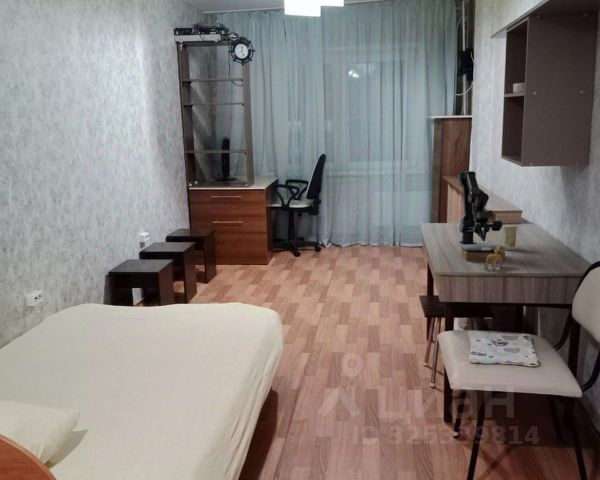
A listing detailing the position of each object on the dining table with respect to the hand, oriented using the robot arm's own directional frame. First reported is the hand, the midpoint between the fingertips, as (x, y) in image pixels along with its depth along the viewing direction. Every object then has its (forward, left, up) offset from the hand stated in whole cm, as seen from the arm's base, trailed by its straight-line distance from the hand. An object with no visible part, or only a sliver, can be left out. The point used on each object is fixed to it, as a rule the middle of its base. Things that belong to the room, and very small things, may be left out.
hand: (484, 240), depth 273 cm
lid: (-2, 0, -4) cm, 4 cm away
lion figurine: (+15, -3, -9) cm, 18 cm away
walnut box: (-2, +1, -9) cm, 9 cm away
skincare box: (-14, +22, -9) cm, 27 cm away
